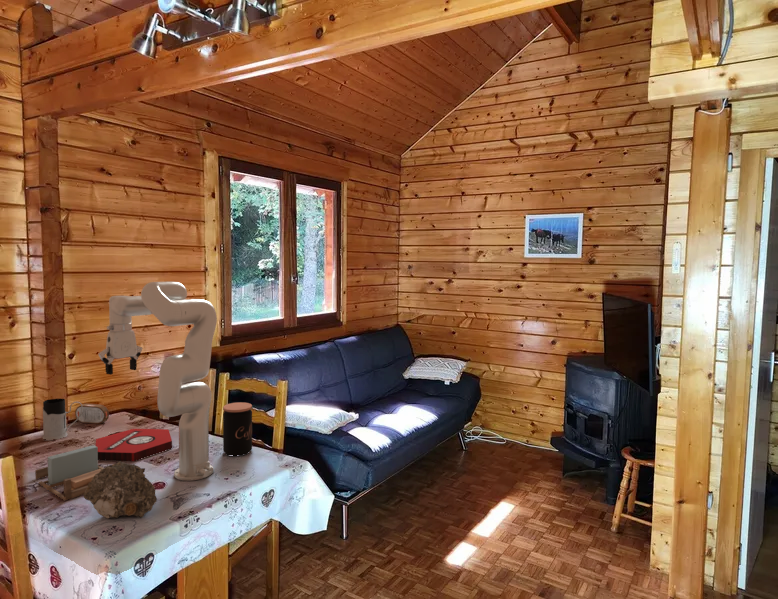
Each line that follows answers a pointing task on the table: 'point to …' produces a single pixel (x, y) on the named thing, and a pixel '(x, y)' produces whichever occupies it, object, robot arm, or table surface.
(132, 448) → the red flat hexagonal block
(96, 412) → the tin
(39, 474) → the rack
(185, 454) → the robot arm
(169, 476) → the table surface
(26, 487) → the table surface
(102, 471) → the rock
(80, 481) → the offcut top
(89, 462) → the grey-green rectangular block
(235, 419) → the coffee jar
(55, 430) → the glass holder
